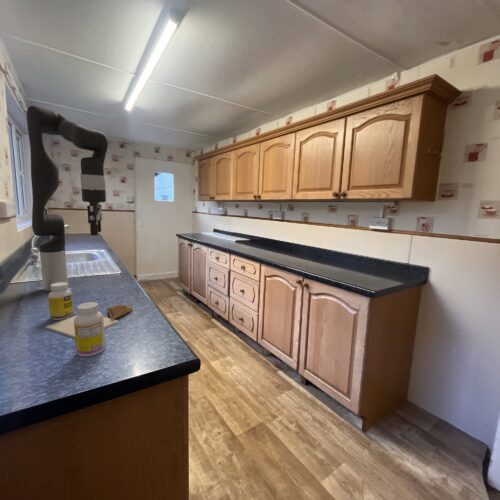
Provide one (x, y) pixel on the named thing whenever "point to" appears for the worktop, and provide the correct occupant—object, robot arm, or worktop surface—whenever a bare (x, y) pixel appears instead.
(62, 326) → the mat
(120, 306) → the shard
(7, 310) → the worktop surface
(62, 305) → the pill bottle
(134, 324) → the worktop surface
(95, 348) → the supplement bottle
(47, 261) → the robot arm
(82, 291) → the worktop surface
